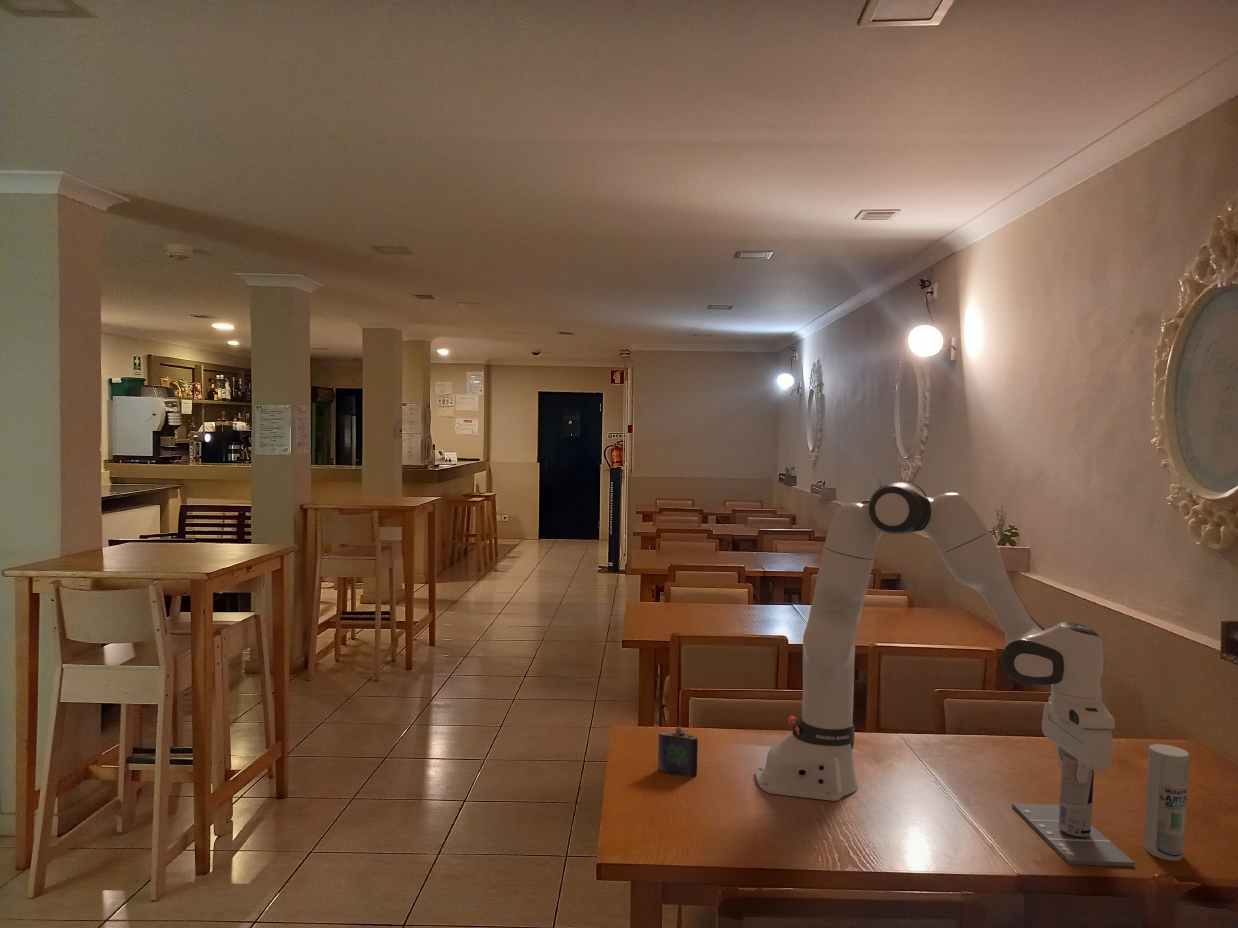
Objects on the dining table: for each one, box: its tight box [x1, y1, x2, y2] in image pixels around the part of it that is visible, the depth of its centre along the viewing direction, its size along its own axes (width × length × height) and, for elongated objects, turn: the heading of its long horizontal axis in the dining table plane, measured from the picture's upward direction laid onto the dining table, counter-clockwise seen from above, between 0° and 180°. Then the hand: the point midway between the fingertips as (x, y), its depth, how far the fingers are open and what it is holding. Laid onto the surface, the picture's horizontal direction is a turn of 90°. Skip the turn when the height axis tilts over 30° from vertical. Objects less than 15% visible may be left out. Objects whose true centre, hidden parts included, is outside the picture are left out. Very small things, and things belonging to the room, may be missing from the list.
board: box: [1011, 803, 1135, 868], centre depth 170 cm, size 12×24×1 cm, turn 179°
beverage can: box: [1059, 753, 1095, 837], centre depth 169 cm, size 6×6×15 cm
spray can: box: [1144, 743, 1190, 861], centre depth 164 cm, size 6×6×20 cm
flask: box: [657, 725, 699, 778], centre depth 196 cm, size 9×3×11 cm, turn 71°
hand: (1072, 774), depth 170 cm, fingers closed on beverage can, 5 cm apart
